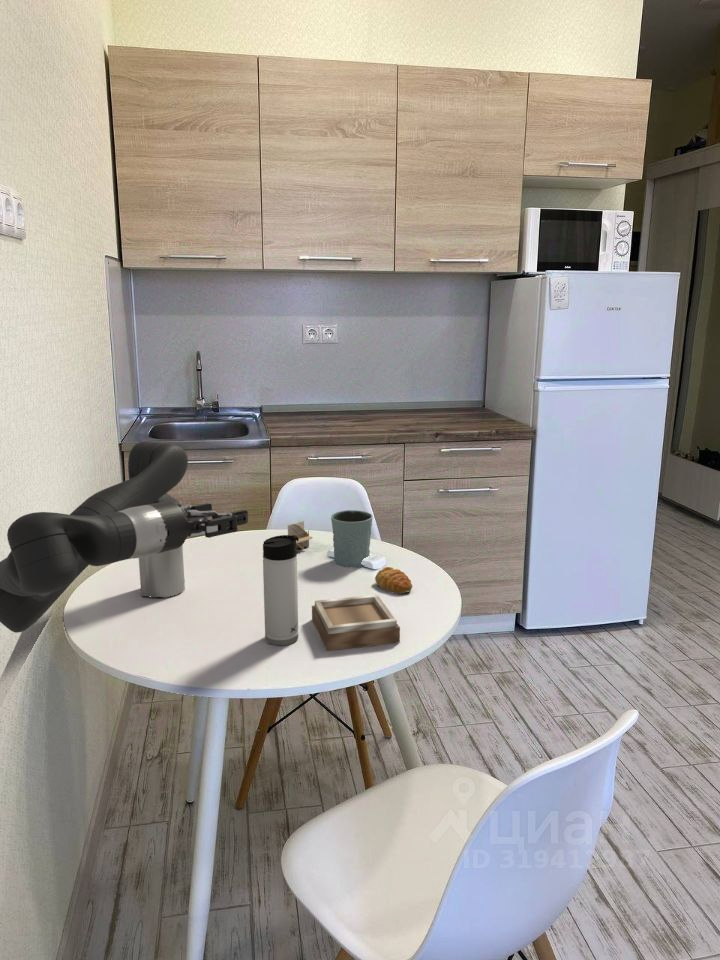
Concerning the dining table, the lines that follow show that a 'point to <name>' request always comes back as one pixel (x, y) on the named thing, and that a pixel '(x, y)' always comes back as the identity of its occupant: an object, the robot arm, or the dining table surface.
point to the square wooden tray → (354, 622)
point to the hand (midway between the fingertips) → (228, 512)
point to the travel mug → (280, 589)
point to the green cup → (351, 537)
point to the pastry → (393, 580)
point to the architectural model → (299, 534)
